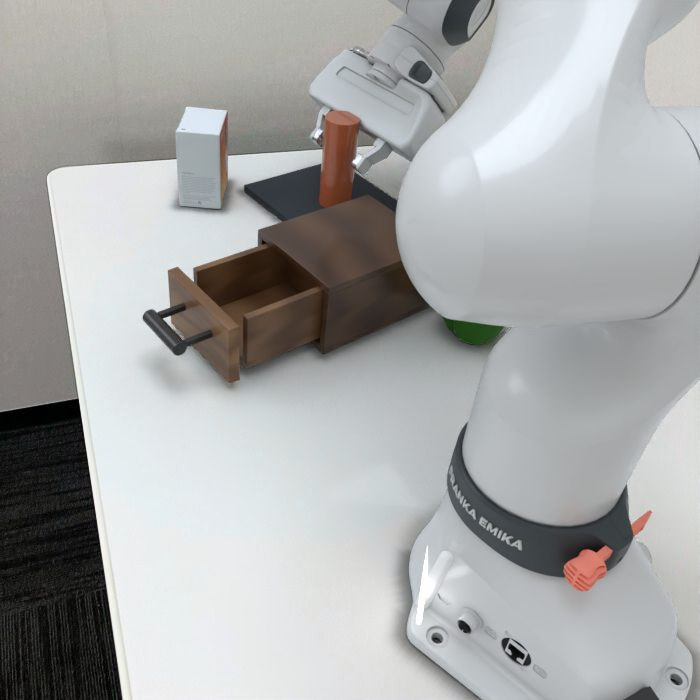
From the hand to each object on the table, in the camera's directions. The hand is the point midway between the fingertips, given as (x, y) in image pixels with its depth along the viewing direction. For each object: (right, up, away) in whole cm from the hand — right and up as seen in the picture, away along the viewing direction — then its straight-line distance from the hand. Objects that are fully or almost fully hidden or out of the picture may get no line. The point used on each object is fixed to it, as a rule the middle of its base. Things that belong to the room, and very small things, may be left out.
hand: (335, 156), depth 100 cm
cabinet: (+1, -19, -10) cm, 22 cm away
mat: (0, -6, +5) cm, 8 cm away
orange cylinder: (0, -5, +5) cm, 7 cm away
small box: (-18, -4, +5) cm, 19 cm away
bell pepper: (+16, -23, -12) cm, 30 cm away
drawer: (-10, -23, -18) cm, 31 cm away
